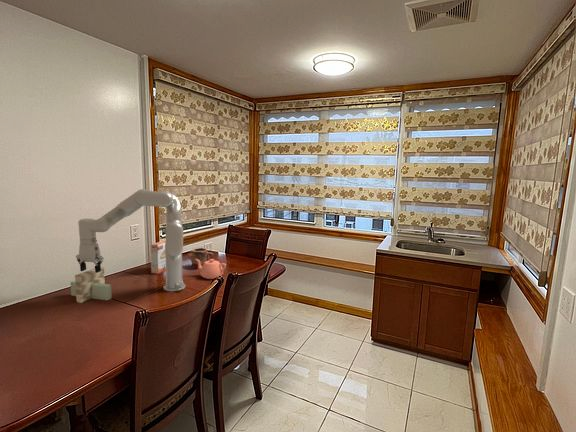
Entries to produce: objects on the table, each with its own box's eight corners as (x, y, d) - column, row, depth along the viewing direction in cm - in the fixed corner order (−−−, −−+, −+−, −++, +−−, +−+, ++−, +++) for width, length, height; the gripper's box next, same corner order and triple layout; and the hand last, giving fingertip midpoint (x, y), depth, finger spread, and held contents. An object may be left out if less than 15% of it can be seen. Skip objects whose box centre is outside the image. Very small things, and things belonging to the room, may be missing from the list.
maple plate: (101, 291, 178) (99, 266, 176) (105, 291, 177) (104, 267, 175) (76, 302, 163) (75, 275, 160) (81, 302, 162) (79, 275, 160)
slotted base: (111, 298, 169) (110, 284, 168) (107, 300, 166) (106, 286, 165) (76, 293, 174) (75, 280, 173) (71, 295, 171) (70, 281, 170)
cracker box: (158, 274, 210) (157, 245, 208) (150, 273, 212) (150, 244, 209) (170, 268, 224) (169, 240, 221) (163, 267, 225) (162, 240, 222)
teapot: (190, 278, 203) (190, 261, 202) (200, 272, 218) (200, 255, 216) (222, 281, 200) (222, 263, 199) (229, 274, 215) (229, 257, 213)
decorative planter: (215, 265, 235) (215, 247, 233) (212, 270, 223) (212, 251, 221) (189, 264, 234) (189, 247, 232) (185, 269, 222) (184, 251, 220)
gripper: (107, 240, 167) (109, 270, 170) (81, 238, 171) (83, 268, 173) (95, 243, 160) (98, 274, 163) (69, 241, 164) (71, 272, 166)
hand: (90, 271), depth 168 cm, fingers open, 9 cm apart
